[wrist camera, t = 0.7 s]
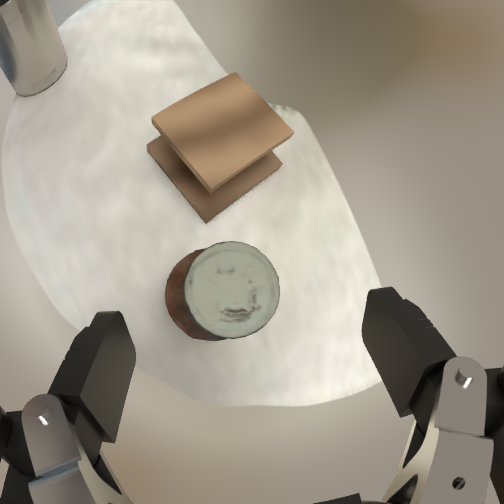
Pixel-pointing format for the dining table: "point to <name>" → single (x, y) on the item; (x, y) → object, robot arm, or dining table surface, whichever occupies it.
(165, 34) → the dining table surface
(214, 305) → the sauce bottle
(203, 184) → the walnut pedestal
